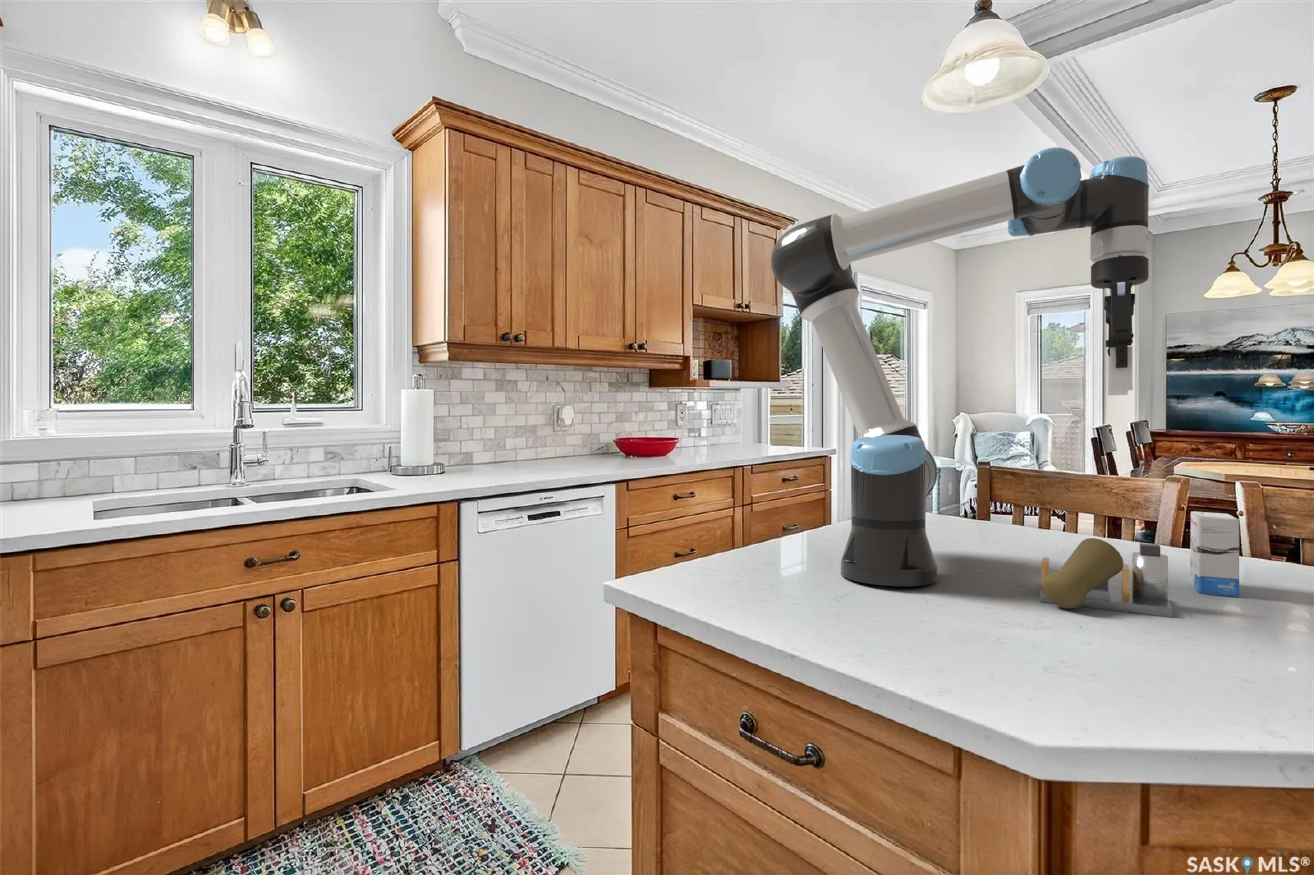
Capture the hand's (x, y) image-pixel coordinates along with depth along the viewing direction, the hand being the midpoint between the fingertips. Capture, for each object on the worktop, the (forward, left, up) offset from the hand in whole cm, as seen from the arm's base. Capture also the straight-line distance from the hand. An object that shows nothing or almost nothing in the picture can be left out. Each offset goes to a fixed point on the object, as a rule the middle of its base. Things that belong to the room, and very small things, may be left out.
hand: (1119, 393), depth 104 cm
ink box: (+12, +4, -31) cm, 33 cm away
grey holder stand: (-3, -13, -31) cm, 33 cm away
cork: (-3, -14, -24) cm, 28 cm away
